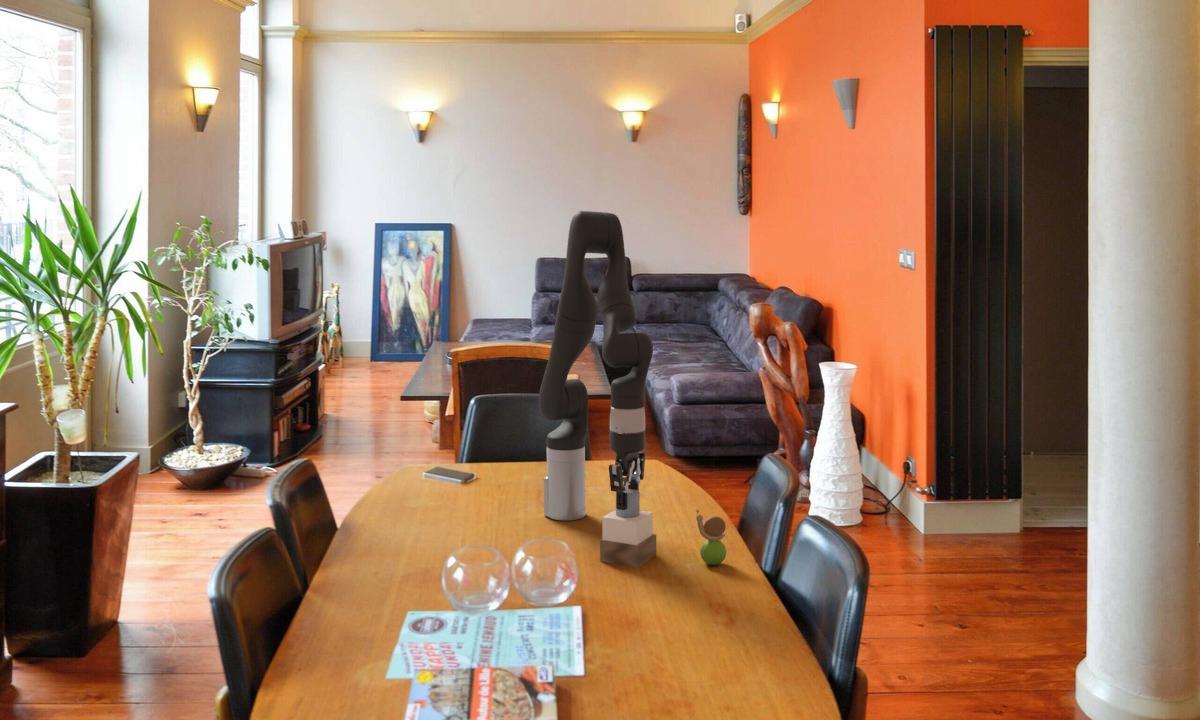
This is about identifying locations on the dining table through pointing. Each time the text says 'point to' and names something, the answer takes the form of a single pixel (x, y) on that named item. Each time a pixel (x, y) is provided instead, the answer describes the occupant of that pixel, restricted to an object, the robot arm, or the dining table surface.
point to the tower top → (627, 528)
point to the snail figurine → (712, 539)
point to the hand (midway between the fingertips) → (627, 505)
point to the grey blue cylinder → (631, 505)
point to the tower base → (628, 552)
